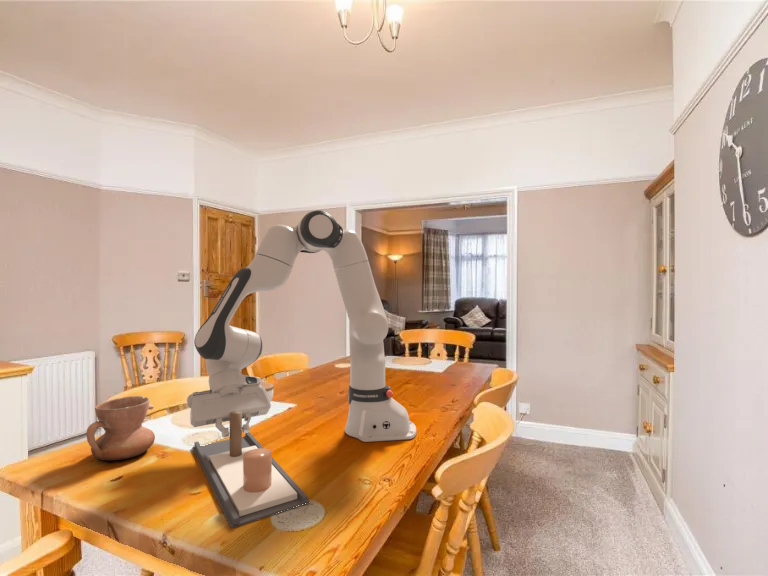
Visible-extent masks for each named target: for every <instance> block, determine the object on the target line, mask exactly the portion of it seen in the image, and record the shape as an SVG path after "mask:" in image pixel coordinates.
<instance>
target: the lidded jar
mask: <svg viewBox="0 0 768 576" xmlns="http://www.w3.org/2000/svg"><path fill="white" fill-rule="evenodd" d="M260 386H262V387H264V388H265V390H266V392H267V394H268V397H269V400H270V403H271V402H272V400H273V397H274V387H275V385H274V384H273V383H271V382H265V381H264V382H262V381H261V385H260Z"/></svg>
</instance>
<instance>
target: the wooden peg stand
mask: <svg viewBox="0 0 768 576" xmlns="http://www.w3.org/2000/svg"><path fill="white" fill-rule="evenodd" d="M242 426H243V419H242V411H232V412H230V421H229V439H230V451H228V452H223V453H219V454H214V455H210V456H209V462H210V464H211V465H212V467H213V469H214V471H215V473H216V475H217V477H218V478H219V480H220V482H221V484H222V486H223V488H224V489H225V491H226V493H227V495H228V497H229V499H230V501H231V502H232V504H233V506H234V508H235V510H236V512H237V513H238V515H239V517H240V516H244V515H247V514H250V513H253V512H256V511H260V510H263V509H266V508H269V507H273V506H276V505H279V504H282V503H285V502H289V501H292V500H295V499H297V492H296V491H295V490H294V489H293V488H292V487H291V486H290V484H289V483H288V482H287V481H286V480H285V479H284V478H283V476H282V475H281V474H280V473H279V472H278V471H277V470H276V468H275V467H274V466H273V465H272V484H271V486H270V487H269V488H268V489H266V490H264V491H261V492H247V491H245V490H244V489H243V455H244V453H246V452H247V451H249V450H252V449H258V448H257V447H256V445H255V446H251V447H246V448H242V437H243V431H242Z"/></svg>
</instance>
